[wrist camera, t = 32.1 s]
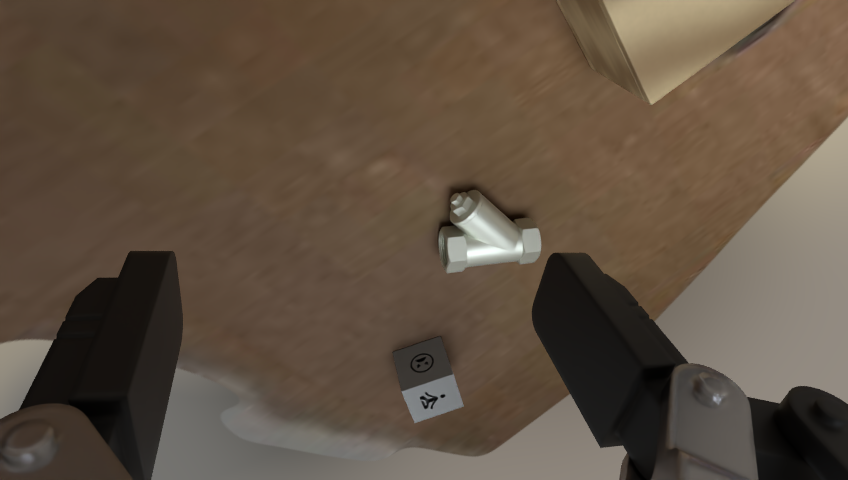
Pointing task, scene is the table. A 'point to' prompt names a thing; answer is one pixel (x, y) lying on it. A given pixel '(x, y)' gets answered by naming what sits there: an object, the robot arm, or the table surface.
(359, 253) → the table surface
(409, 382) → the dice cube
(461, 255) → the pipe fitting
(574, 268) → the robot arm
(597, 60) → the cabinet
